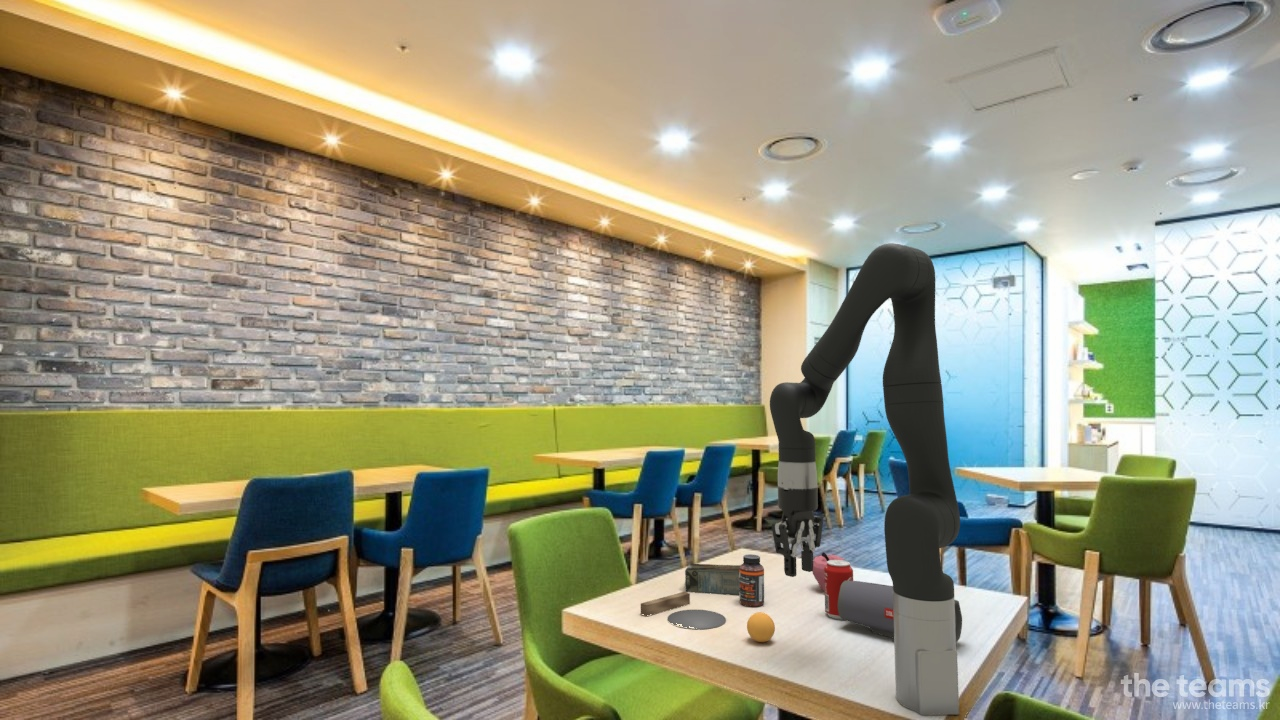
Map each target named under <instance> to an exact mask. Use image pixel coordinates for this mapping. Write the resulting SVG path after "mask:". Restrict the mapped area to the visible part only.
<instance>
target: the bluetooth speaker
mask: <svg viewBox="0 0 1280 720" xmlns="http://www.w3.org/2000/svg"><path fill="white" fill-rule="evenodd" d="M954 600H955V633H956V644H957V643H958V642H959V640H960V638H961V636H962V627H963V616H962V611H961V606H960V601H959V600H958V599H954ZM837 607H838V613H839V615H840V617H841V618H842V619H844V621H847V622H850V623H852V624H856V625H859V626H860V625H861V626H863V627H867V628H869V629H870V630H871V632H872V633H874V634H877V635H881V636H883V637H888V638H892V637H893V639H894V613H893V585H887V584H880V583H876V582H875V583H874V582H867V581H865V582H864V581H860V580H853V581H844V582H843V583H842V584H841V587H840V592H839V597H838V604H837Z"/></svg>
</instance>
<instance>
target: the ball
mask: <svg viewBox="0 0 1280 720" xmlns="http://www.w3.org/2000/svg"><path fill="white" fill-rule="evenodd" d="M746 629H747V630H746V631H747V633H748V635H749V637H750V638H751V639H753V640H754V641H755V642H758V643H765V642H768V641H770V640H771V639H772V638H773V637H774V634H775V631H776V626H775V622H774V620H773V619H772V617H771V616H770V615H769V614H767V613H764V612H755V613H753V614H751V615H750V617H748V620H747V622H746Z"/></svg>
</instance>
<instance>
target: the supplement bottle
mask: <svg viewBox="0 0 1280 720" xmlns="http://www.w3.org/2000/svg"><path fill="white" fill-rule="evenodd" d="M742 559H743V563H741V564H739V565H740V568H739V595H738V596H739V598H738V599H739V603H740V604H741V605H742V606H746V607H752V608H754V607H755V608H757V607H762V606H764V604H765V568H764V566H763V565H762V564H761V556H759V555H758V554H744V555H743V556H742Z"/></svg>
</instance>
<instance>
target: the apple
mask: <svg viewBox="0 0 1280 720" xmlns="http://www.w3.org/2000/svg"><path fill="white" fill-rule="evenodd" d="M829 560H843V561H845V558H844V557H840V556H838V555H835V554H829V555H828V554H826V553H825V552H824V551H823V552H821V555H818V556H815V557H813V571H811V573H812V575H813V576H814V579H815V581H816V583H818V586H819V587H820V589H821V590H822V591H823V592H825V586H824V567H825V566H826V565H827V561H829Z"/></svg>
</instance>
